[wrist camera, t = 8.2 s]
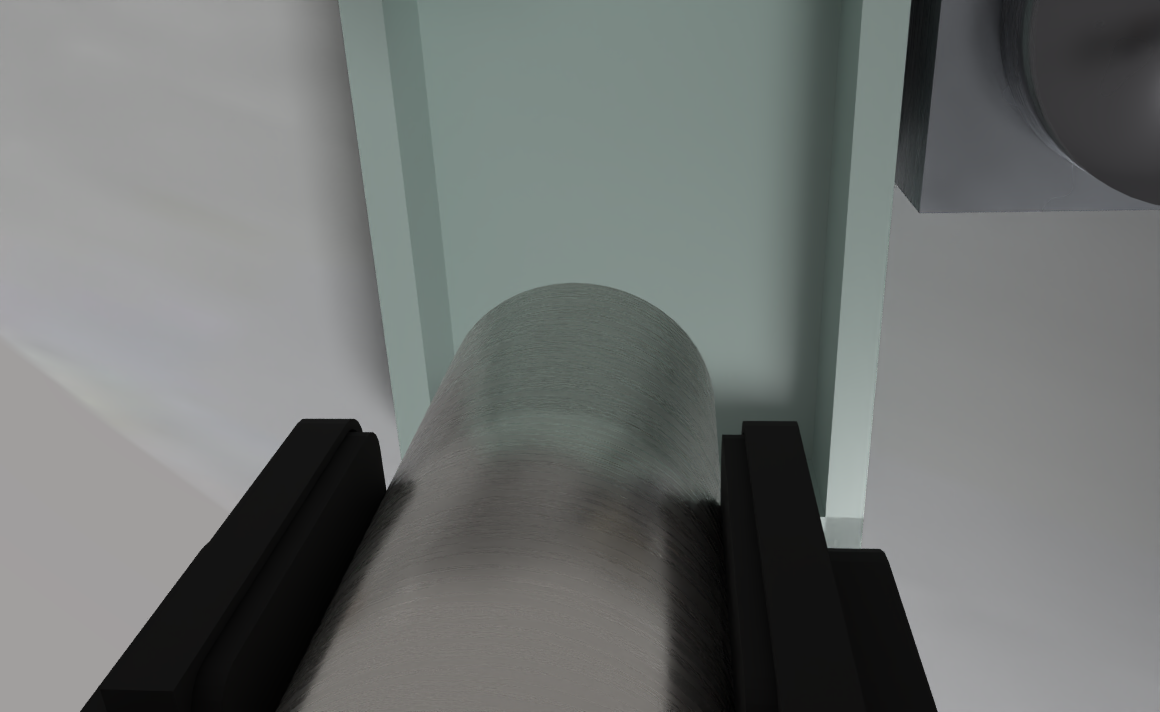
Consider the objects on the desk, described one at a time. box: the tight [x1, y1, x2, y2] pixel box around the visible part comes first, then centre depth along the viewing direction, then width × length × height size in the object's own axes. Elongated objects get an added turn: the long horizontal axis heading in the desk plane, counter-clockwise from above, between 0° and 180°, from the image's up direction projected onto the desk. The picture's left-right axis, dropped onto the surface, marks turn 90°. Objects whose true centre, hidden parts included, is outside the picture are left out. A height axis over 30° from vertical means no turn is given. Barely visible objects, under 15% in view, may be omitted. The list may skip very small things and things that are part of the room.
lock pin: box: [276, 283, 735, 712], centre depth 8 cm, size 4×4×10 cm
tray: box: [338, 0, 911, 549], centre depth 20 cm, size 13×10×3 cm
